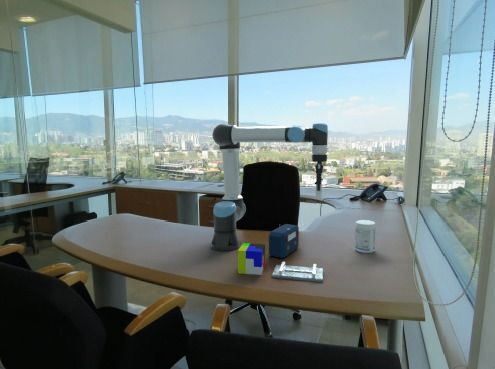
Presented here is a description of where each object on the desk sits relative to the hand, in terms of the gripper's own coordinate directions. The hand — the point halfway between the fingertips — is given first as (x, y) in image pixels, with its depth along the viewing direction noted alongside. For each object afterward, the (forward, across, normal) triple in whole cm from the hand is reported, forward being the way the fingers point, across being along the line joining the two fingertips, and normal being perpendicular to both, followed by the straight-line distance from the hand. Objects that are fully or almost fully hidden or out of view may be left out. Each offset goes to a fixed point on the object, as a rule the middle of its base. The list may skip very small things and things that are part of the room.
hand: (318, 195), depth 165 cm
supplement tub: (+27, -3, -23) cm, 36 cm away
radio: (+28, -13, +16) cm, 35 cm away
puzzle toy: (+28, -38, +27) cm, 54 cm away
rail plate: (+27, -40, +7) cm, 49 cm away
